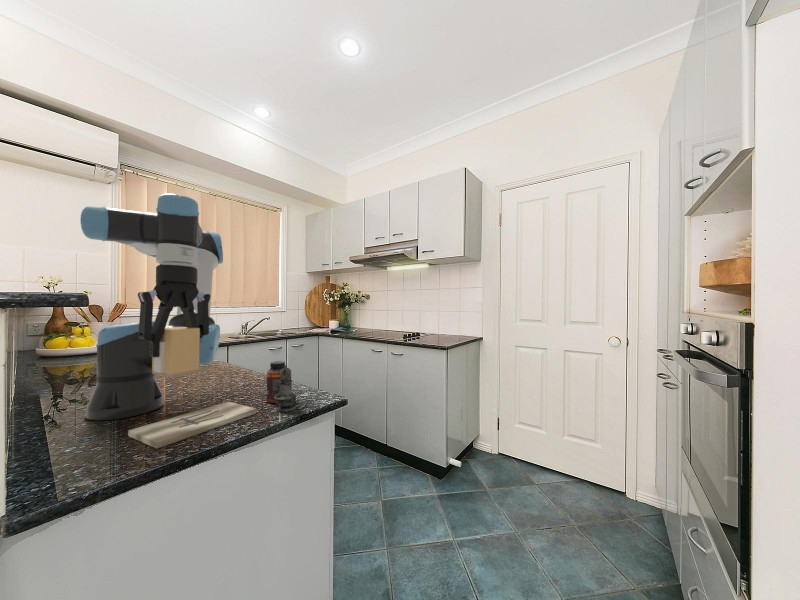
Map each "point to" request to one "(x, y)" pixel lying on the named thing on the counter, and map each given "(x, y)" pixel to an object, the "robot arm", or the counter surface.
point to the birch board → (189, 424)
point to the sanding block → (180, 351)
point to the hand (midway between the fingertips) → (175, 369)
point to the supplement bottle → (274, 380)
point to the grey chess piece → (285, 392)
